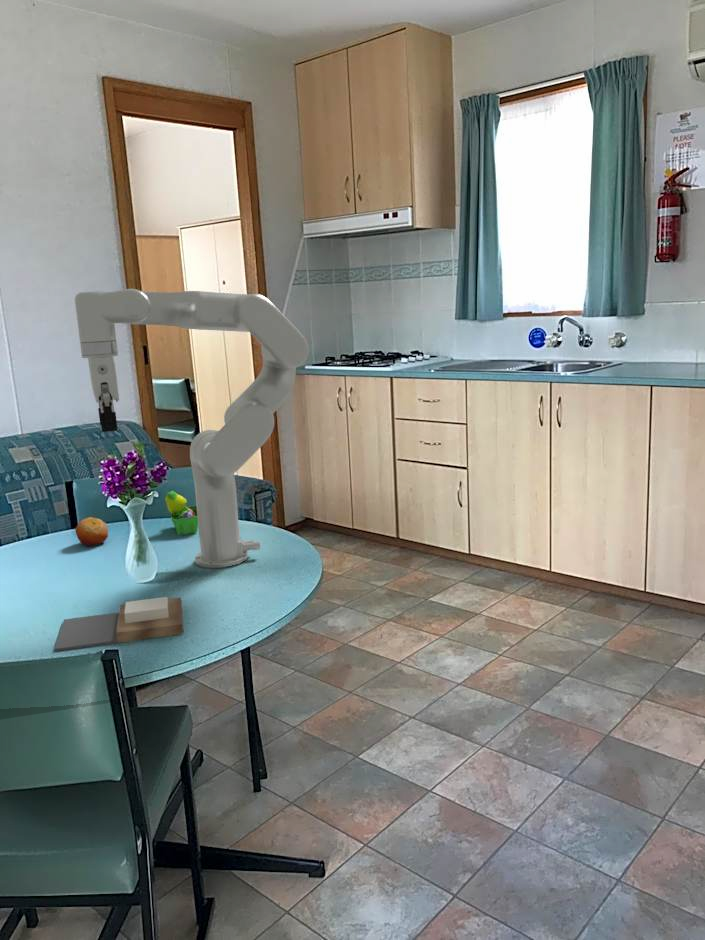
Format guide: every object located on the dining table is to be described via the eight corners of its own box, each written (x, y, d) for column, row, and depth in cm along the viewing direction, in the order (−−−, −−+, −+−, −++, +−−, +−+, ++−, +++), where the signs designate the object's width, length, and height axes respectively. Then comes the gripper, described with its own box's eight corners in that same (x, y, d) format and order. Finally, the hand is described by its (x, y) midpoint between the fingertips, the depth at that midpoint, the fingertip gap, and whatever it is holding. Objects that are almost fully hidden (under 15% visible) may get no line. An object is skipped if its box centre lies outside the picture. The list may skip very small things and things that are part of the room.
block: (168, 606, 155) (167, 596, 155) (168, 617, 150) (167, 607, 149) (127, 611, 154) (125, 602, 153) (125, 623, 148) (124, 613, 147)
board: (181, 606, 160) (180, 597, 160) (183, 633, 147) (182, 623, 146) (121, 614, 157) (120, 605, 157) (117, 642, 144) (116, 632, 144)
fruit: (91, 531, 212) (98, 509, 208) (109, 549, 209) (115, 527, 205) (65, 539, 206) (71, 516, 202) (83, 558, 203) (89, 535, 199)
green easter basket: (201, 534, 210) (198, 493, 208) (168, 537, 208) (164, 496, 206) (200, 522, 221) (197, 484, 219) (169, 525, 219) (164, 487, 217)
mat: (121, 614, 157) (121, 612, 157) (117, 642, 144) (117, 640, 144) (64, 621, 155) (64, 619, 155) (54, 651, 142) (54, 648, 142)
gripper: (119, 350, 162) (129, 431, 165) (115, 347, 178) (123, 421, 181) (81, 353, 159) (92, 435, 163) (80, 349, 175) (89, 424, 179)
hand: (108, 427), depth 172 cm, fingers open, 9 cm apart
